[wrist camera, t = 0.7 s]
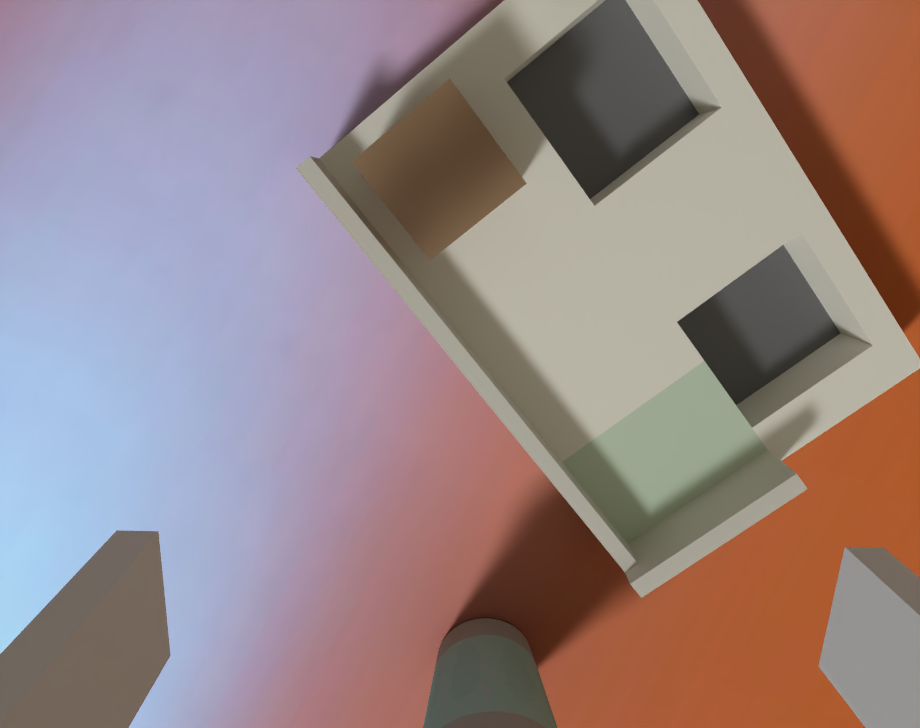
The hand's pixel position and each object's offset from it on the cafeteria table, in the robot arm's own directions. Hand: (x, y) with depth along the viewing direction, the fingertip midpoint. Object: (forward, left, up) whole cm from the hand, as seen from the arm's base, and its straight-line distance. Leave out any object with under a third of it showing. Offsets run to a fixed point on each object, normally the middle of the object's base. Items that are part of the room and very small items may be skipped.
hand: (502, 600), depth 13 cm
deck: (+2, +8, -23) cm, 25 cm away
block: (-7, +4, -20) cm, 22 cm away
